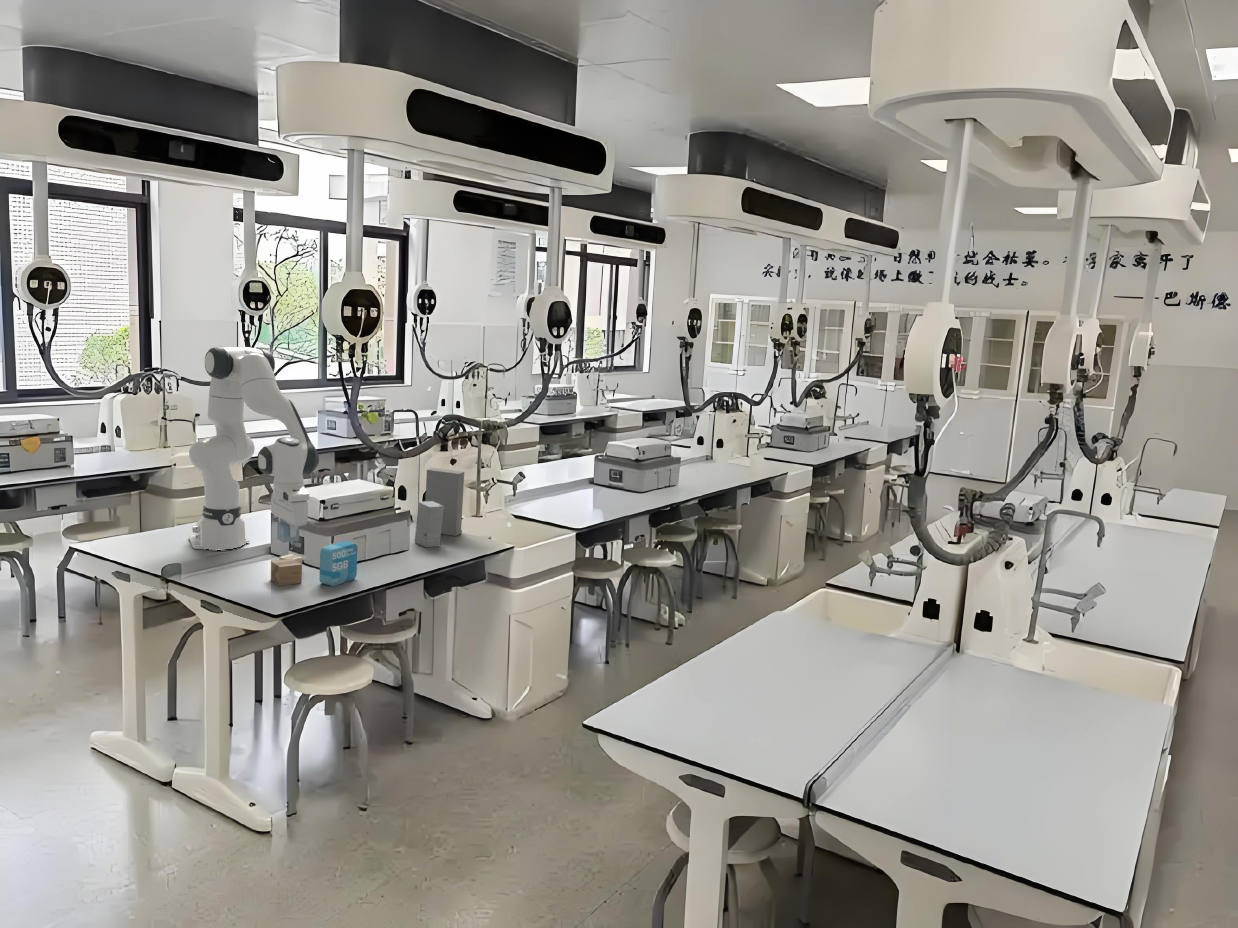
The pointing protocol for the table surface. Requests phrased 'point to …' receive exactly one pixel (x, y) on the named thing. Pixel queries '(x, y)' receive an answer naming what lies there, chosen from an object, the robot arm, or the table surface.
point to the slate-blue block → (286, 533)
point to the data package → (338, 563)
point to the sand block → (291, 557)
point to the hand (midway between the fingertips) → (288, 533)
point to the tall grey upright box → (447, 497)
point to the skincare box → (429, 524)
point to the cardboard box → (286, 572)
